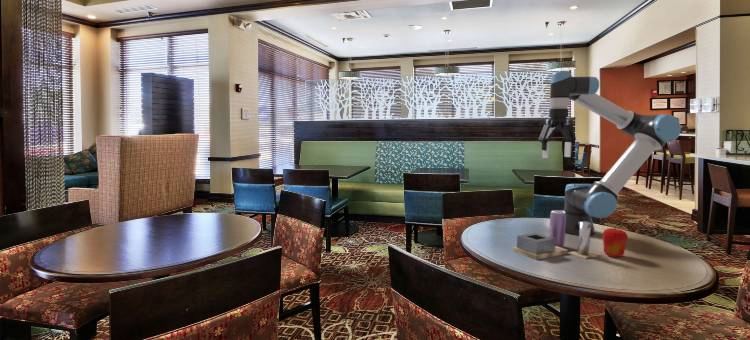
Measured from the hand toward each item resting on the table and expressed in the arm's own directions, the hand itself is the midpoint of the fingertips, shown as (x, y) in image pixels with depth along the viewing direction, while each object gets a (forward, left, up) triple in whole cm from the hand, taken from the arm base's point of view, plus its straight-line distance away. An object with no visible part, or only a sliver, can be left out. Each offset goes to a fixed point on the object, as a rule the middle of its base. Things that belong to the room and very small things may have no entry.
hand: (556, 157), depth 180 cm
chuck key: (+7, +21, -36) cm, 42 cm away
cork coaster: (+7, +21, -37) cm, 43 cm away
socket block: (+22, +11, -35) cm, 43 cm away
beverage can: (+7, +8, -37) cm, 39 cm away
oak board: (+20, +11, -37) cm, 43 cm away
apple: (-3, +26, -37) cm, 46 cm away
